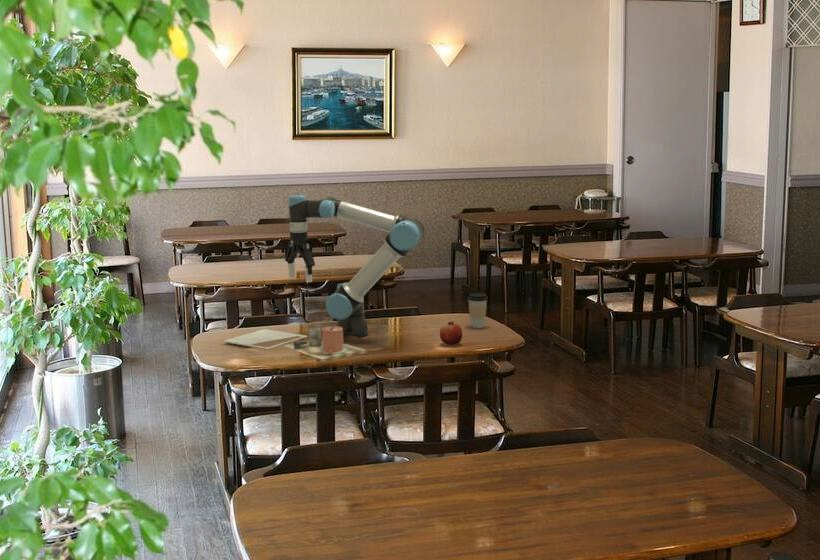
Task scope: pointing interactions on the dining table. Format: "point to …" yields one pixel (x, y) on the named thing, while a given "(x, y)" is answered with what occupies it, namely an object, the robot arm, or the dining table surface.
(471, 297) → the coffee cup
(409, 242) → the robot arm
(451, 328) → the fruit
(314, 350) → the lock station
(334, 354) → the coaster
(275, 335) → the plate
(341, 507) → the dining table surface
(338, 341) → the pink cylinder
